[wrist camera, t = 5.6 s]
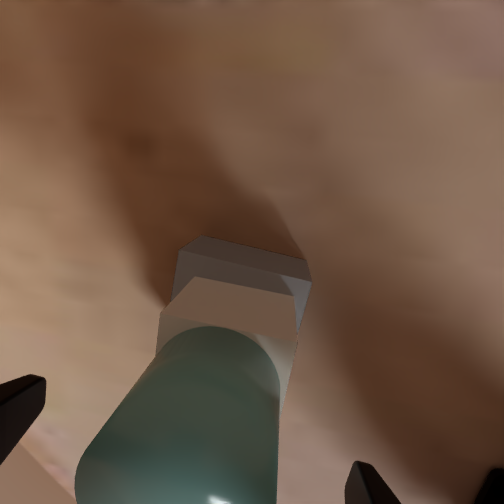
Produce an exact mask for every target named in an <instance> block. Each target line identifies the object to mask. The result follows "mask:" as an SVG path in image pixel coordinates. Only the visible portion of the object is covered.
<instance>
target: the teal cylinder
mask: <svg viewBox="0 0 504 504" xmlns="http://www.w3.org/2000/svg"><path fill="white" fill-rule="evenodd" d="M279 417H280V380H279V376H278V373H277V370H276V368H275V365H274V364H273V362H272V360H271V358H270V357H269V356H268V354H267V353H266V352H265V351H264V350H263V349H262V348H261V347H260V346H259V345H258V344H257V343H256V342H254V341H253V340H252V339H250V338H248V337H247V336H245V335H243V334H241V333H239V332H237V331H234V330H231V329H227V328H222V327H214V326H204V327H196V328H192V329H189V330H186V331H183V332H181V333H179V334H177V335H176V336H174V337H173V338H171V339H170V340H169V341H168V342H167V343H166V344H165V345H164V346H163V347H162V349H161V350H160V351H159V352H158V354H157V355H156V356H155V358H154V359H153V360H152V362H151V363H150V364H149V366H148V367H147V369H146V370H145V371H144V373H143V374H142V375H141V377H140V378H139V379H138V381H137V382H136V383H135V385H134V386H133V387H132V389H131V390H130V391H129V393H128V394H127V395H126V397H125V398H124V399H123V401H122V402H121V403H120V405H119V406H118V407H117V409H116V410H115V411H114V413H113V414H112V415H111V417H110V418H109V419H108V421H107V422H106V423H105V425H104V426H103V427H102V429H101V430H100V431H99V433H98V434H97V435H96V437H95V438H94V439H93V441H92V442H91V443H90V445H89V446H88V447H87V449H86V450H85V452H84V453H83V455H82V457H81V459H80V461H79V464H78V466H77V470H76V475H75V495H76V501H77V504H276V501H277V473H278V445H279Z"/></svg>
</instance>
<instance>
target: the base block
mask: <svg viewBox="0 0 504 504" xmlns="http://www.w3.org/2000/svg"><path fill="white" fill-rule="evenodd" d="M195 276H196V277H201V278H206V279H211V280H216V281H221V282H226V283H231V284H235V285H240V286H245V287H250V288H255V289H260V290H265V291H270V292H275V293H280V294H285V295H290V296H294V301H295V314H296V327H297V334H298V331H299V327H300V324H301V320H302V317H303V313H304V310H305V306H306V303H307V299H308V296H309V292H310V289H311V285H312V279H311V275H310V271H309V268H308V264H307V260H304V259H299V258H295V257H291V256H287V255H283V254H279V253H274V252H270V251H266V250H262V249H258V248H253V247H249V246H245V245H241V244H237V243H233V242H228V241H224V240H220V239H216V238H212V237H208V236H203V235H201V236H199V237H198V238H196V239H195V240H193V241H192V242H190V243H189V244H187V245H185V246H184V247H182V248H181V249H179V253H178V259H177V265H176V271H175V277H174V283H173V288H172V294H171V300H170V302H171V301H172V300H173V299H174V298H175V297H176V296H177V295H178V294H179V293H180V292H181V291H182V290H183V288H184V287H185V286H186V285H187V284H188V283H189V282H190V281H191V280H192V279H193V278H194V277H195Z"/></svg>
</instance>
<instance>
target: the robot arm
mask: <svg viewBox="0 0 504 504" xmlns="http://www.w3.org/2000/svg"><path fill="white" fill-rule="evenodd" d="M45 397H46V379H45V378H44V377H41V376H37V375H33V374H29V375H26V376H23V377H20V378H17V379H14V380H11V381H8V382H5V383H3V384H0V465H1V464H2V462H3V461H4V460H5V459H6V457H7V456H8V455H9V454H10V452H11V451H12V450H13V448H14V447H15V446H16V444H17V443H18V442H19V440H20V439H21V438H22V436H23V435H24V434H25V433H26V431H27V430H28V429H29V427H30V426H31V425H32V423H33V422H34V421H35V419H36V418H37V417H38V415H39V414H40V413H41V411H42V410H43V407H44V405H45ZM345 504H401V502H400V501H399V500H398V498H397V497H396V496H395V495H394V493H393V492H392V491H391V489H390V488H389V487H388V485H387V484H386V483H385V481H384V480H383V479H382V477H381V476H380V475H379V473H378V472H377V471H376V469H375V468H374V467H373V466H372V465H371V464H369V463H365V462H361V461H355V462H354V463H353V465H352V468H351V471H350V474H349V476H348V479H347V482H346V485H345ZM474 504H504V469H499V468H497V469H494V470H492V471H491V472H490V473H489V475H488V477H487V479H486V481H485V483H484V485H483V487H482V489H481V491H480V493H479V495H478V497H477V499H476V501H475V503H474Z"/></svg>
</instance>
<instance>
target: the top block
mask: <svg viewBox="0 0 504 504" xmlns="http://www.w3.org/2000/svg"><path fill="white" fill-rule="evenodd" d="M204 326H214V327H222V328H227V329H231V330H234V331H237V332H239V333H241V334H243V335H245V336H247V337H248V338H250V339H252V340H253V341H254V342H256V343H257V344H258V345H259V346H260V347H261V348H262V349H263V350H264V351H265V352H266V353H267V354H268V356H269V357H270V358H271V360H272V362H273V364H274V365H275V368H276V370H277V373H278V376H279V380H280V416H281V412H282V407H283V403H284V399H285V395H286V390H287V386H288V382H289V378H290V373H291V369H292V365H293V360H294V356H295V352H296V348H297V343H298V340H297V327H296V314H295V301H294V296H290V295H285V294H280V293H275V292H270V291H265V290H260V289H255V288H250V287H245V286H240V285H235V284H231V283H226V282H221V281H216V280H211V279H206V278H201V277H196V276H195V277H194V278H193V279H192V280H191V281H190V282H189V283H188V284H187V285H186V286H185V287H184V288H183V290H182V291H181V292H180V293H179V294H178V295H177V296H176V297H175V298H174V299H173V300H172V301H171V302H170V303H169V304H168V306H167V307H166V308H165V309H164V310H163V311H162V312H161V313H160V320H159V328H158V337H157V346H156V355H157V354H158V352H159V351H160V350H161V349H162V347H163V346H164V345H165V344H166V343H167V342H168V341H169V340H170V339H171V338H173V337H174V336H176V335H177V334H179V333H181V332H183V331H186V330H189V329H192V328H196V327H204ZM156 355H155V356H156ZM279 420H280V417H279Z"/></svg>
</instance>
